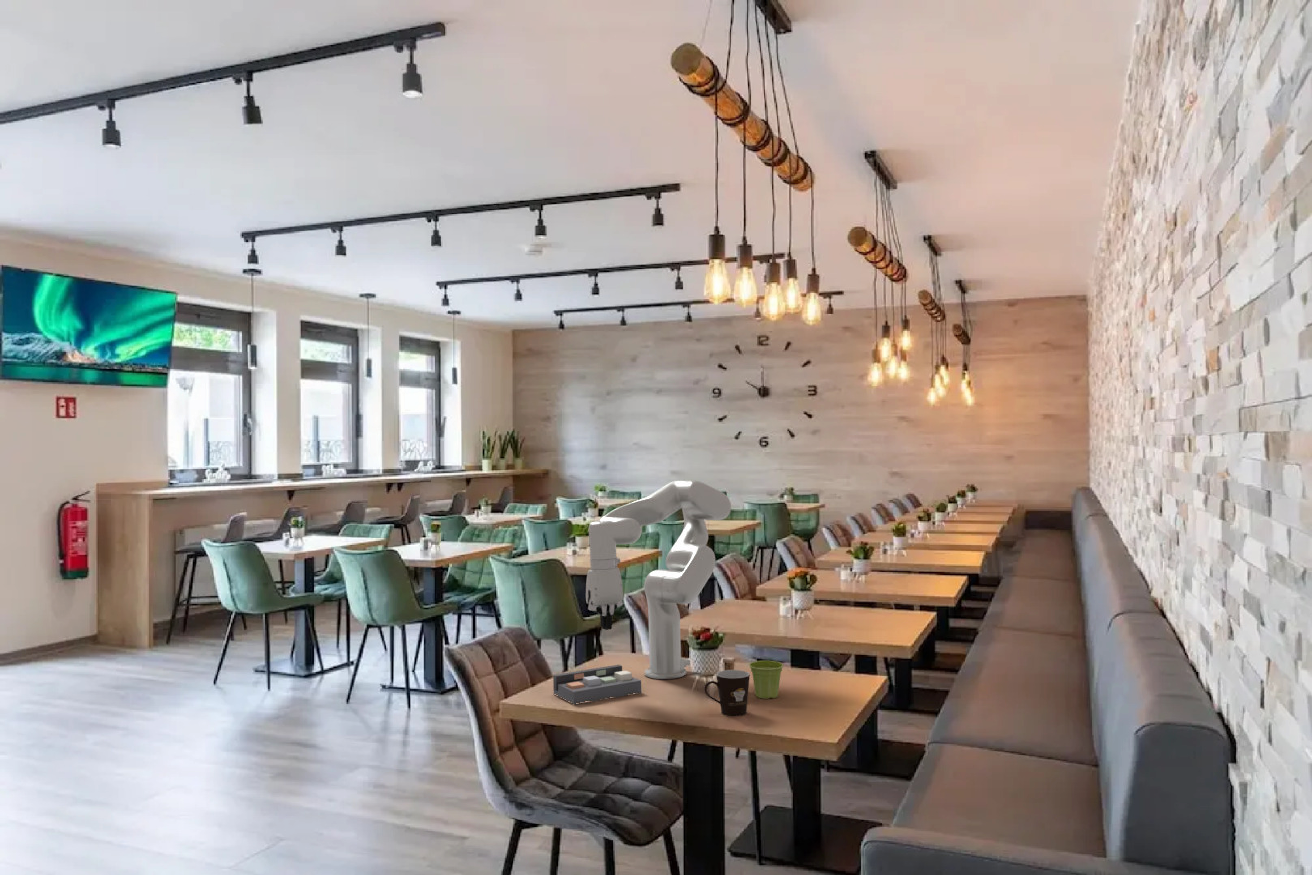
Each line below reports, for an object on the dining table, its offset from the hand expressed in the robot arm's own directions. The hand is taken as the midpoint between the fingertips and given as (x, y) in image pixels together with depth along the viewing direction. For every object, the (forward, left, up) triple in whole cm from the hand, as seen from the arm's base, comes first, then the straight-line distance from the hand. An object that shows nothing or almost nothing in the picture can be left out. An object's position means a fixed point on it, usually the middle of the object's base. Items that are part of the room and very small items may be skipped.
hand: (606, 628), depth 269 cm
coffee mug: (-15, +38, -18) cm, 44 cm away
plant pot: (-33, +31, -18) cm, 48 cm away
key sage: (+1, +3, -16) cm, 16 cm away
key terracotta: (+11, +3, -16) cm, 20 cm away
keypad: (+4, +1, -18) cm, 18 cm away
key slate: (+6, +3, -15) cm, 16 cm away
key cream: (-4, +3, -15) cm, 16 cm away
